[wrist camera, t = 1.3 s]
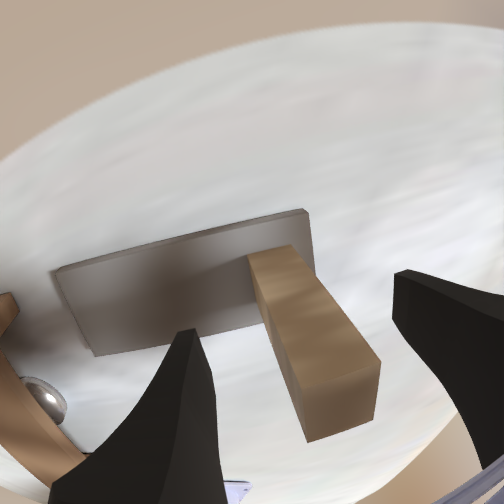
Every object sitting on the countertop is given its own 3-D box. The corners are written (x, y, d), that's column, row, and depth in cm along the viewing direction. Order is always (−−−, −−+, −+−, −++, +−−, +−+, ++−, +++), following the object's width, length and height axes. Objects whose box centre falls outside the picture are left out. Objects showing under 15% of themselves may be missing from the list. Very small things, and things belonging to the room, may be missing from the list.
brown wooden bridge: (126, 461, 19) (122, 501, 16) (68, 461, 19) (61, 497, 15) (10, 292, 13) (-25, 333, 9) (-46, 308, 13) (-77, 343, 9)
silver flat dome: (69, 421, 17) (66, 431, 16) (22, 404, 16) (18, 413, 15) (65, 386, 16) (61, 397, 15) (14, 368, 15) (9, 377, 14)
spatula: (302, 208, 14) (421, 306, 6) (313, 300, 16) (396, 429, 8) (60, 267, 13) (-30, 393, 5) (98, 347, 15) (59, 485, 7)
